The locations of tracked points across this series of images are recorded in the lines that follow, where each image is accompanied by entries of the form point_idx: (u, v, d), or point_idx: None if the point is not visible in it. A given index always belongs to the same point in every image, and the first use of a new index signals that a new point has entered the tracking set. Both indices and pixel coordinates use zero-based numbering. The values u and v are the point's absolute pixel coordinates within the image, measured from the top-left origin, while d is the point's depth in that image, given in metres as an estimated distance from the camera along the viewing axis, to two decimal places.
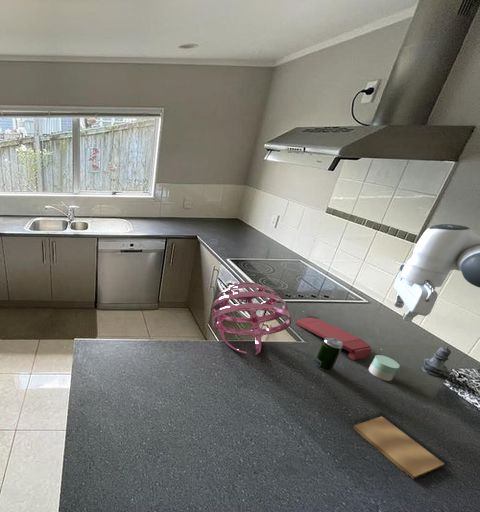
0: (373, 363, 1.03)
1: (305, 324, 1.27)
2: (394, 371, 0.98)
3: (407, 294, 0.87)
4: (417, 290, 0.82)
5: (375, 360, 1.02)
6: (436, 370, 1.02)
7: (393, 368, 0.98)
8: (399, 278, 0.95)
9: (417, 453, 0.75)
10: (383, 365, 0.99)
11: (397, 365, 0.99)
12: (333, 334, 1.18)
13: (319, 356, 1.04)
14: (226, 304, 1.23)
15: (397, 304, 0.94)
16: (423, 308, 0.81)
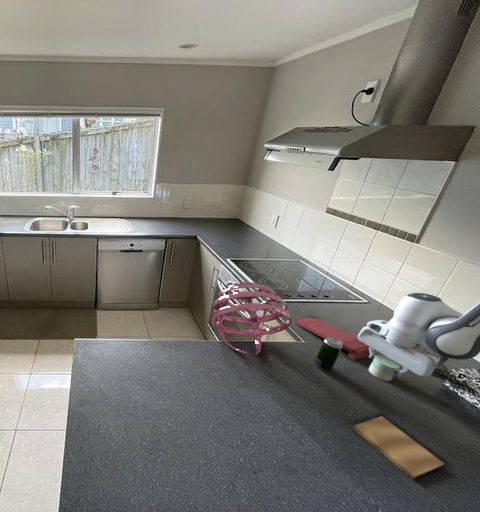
0: (373, 363, 1.03)
1: (305, 324, 1.27)
2: (394, 371, 0.98)
3: (398, 355, 0.96)
4: (421, 356, 0.91)
5: (375, 360, 1.02)
6: (436, 370, 1.02)
7: (393, 368, 0.98)
8: (366, 333, 1.05)
9: (417, 453, 0.75)
10: (383, 365, 0.99)
11: (397, 365, 0.99)
12: (333, 334, 1.18)
13: (319, 356, 1.04)
14: (226, 304, 1.23)
15: (374, 357, 1.04)
16: (430, 371, 0.90)
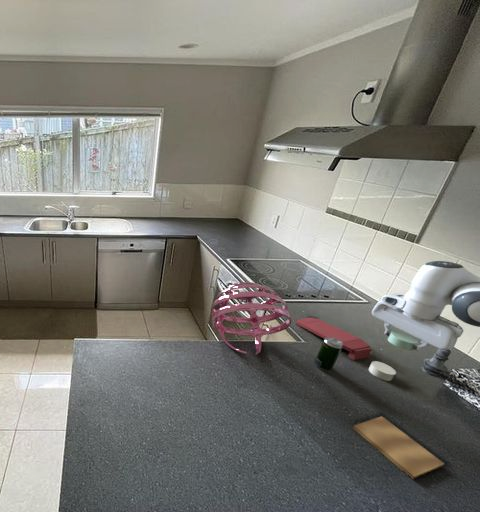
0: (389, 339, 0.97)
1: (305, 324, 1.27)
2: (412, 346, 0.93)
3: (416, 329, 0.91)
4: (441, 328, 0.85)
5: (391, 336, 0.96)
6: (436, 370, 1.02)
7: (411, 343, 0.92)
8: (381, 308, 0.99)
9: (417, 453, 0.75)
10: (400, 341, 0.94)
11: (415, 340, 0.93)
12: (333, 334, 1.18)
13: (319, 356, 1.04)
14: (226, 304, 1.23)
15: None
16: (452, 344, 0.84)
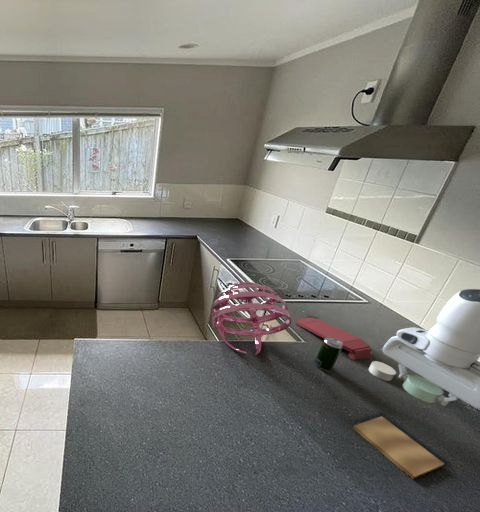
0: (405, 386, 0.76)
1: (305, 324, 1.27)
2: (436, 399, 0.71)
3: (442, 377, 0.69)
4: (479, 381, 0.64)
5: (408, 382, 0.75)
6: None
7: (435, 395, 0.71)
8: (395, 345, 0.78)
9: (417, 453, 0.75)
10: (420, 390, 0.72)
11: (440, 390, 0.72)
12: (333, 334, 1.18)
13: (319, 356, 1.04)
14: (226, 304, 1.23)
15: (406, 378, 0.77)
16: None
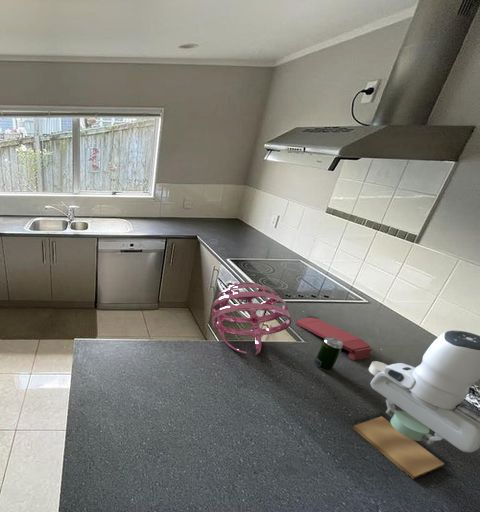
0: (392, 422, 0.76)
1: (305, 324, 1.27)
2: (422, 437, 0.72)
3: (428, 417, 0.70)
4: (463, 424, 0.64)
5: (395, 419, 0.75)
6: None
7: (421, 433, 0.71)
8: (382, 381, 0.78)
9: (417, 453, 0.75)
10: (406, 428, 0.73)
11: (426, 428, 0.72)
12: (333, 334, 1.18)
13: (319, 356, 1.04)
14: (226, 304, 1.23)
15: (393, 414, 0.77)
16: (477, 446, 0.63)
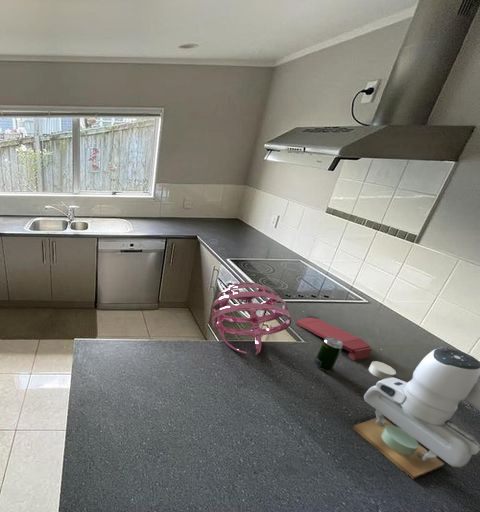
0: (383, 437, 0.78)
1: (305, 324, 1.27)
2: (411, 452, 0.74)
3: (419, 431, 0.72)
4: (452, 440, 0.66)
5: (386, 433, 0.78)
6: None
7: (410, 448, 0.74)
8: (375, 395, 0.80)
9: (417, 453, 0.75)
10: (396, 443, 0.75)
11: (415, 443, 0.75)
12: (333, 334, 1.18)
13: (319, 356, 1.04)
14: (226, 304, 1.23)
15: (382, 425, 0.80)
16: (466, 461, 0.65)
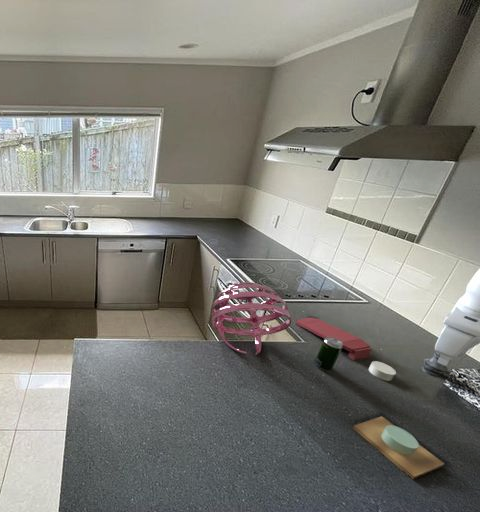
0: (383, 437, 0.78)
1: (305, 324, 1.27)
2: (411, 452, 0.74)
3: (478, 339, 0.75)
4: None
5: (386, 433, 0.78)
6: (436, 370, 1.02)
7: (410, 448, 0.74)
8: None
9: (417, 453, 0.75)
10: (396, 443, 0.75)
11: (415, 443, 0.75)
12: (333, 334, 1.18)
13: (319, 356, 1.04)
14: (226, 304, 1.23)
15: None
16: None
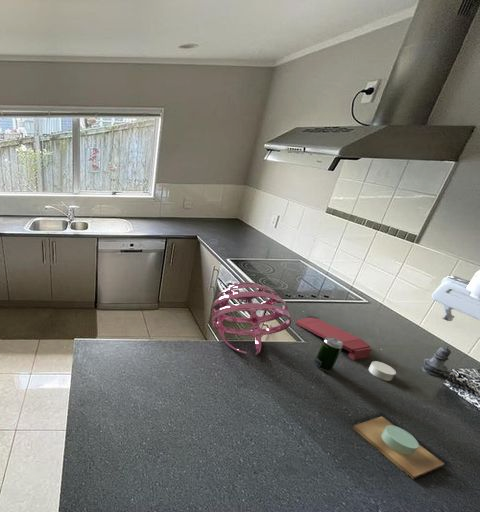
0: (383, 437, 0.78)
1: (305, 324, 1.27)
2: (411, 452, 0.74)
3: None
4: None
5: (386, 433, 0.78)
6: (436, 370, 1.02)
7: (410, 448, 0.74)
8: None
9: (417, 453, 0.75)
10: (396, 443, 0.75)
11: (415, 443, 0.75)
12: (333, 334, 1.18)
13: (319, 356, 1.04)
14: (226, 304, 1.23)
15: None
16: None
